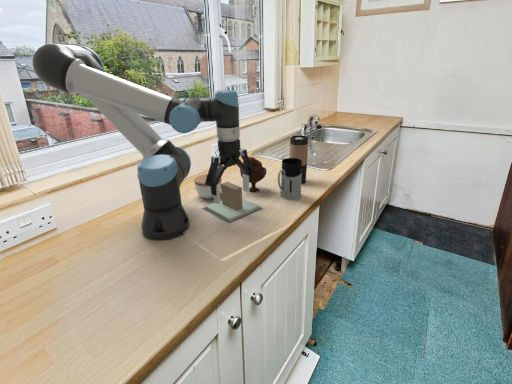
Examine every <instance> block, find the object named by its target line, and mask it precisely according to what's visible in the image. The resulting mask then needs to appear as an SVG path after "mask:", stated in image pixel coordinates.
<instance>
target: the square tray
mask: <svg viewBox="0 0 512 384" xmlns="http://www.w3.org/2000/svg"><path fill="white" fill-rule="evenodd" d="M201 209H202V210H204V211H205V212H207V213H209V214H211V215H213V216H214V217H216V218H218V219H220V220H221V221H223V222H225V223H228V224H232V223H234V222H236V221H238V220H240V219H243V218H245V217H248V216H249V215H251V214H254V213H256V212H260V211H261V210H263V209H264V207H261V206H259V209H257V210H255V211H252V212H250V213H248V214H245V215H243V216H241V217H239V218H236V219H234V220H232V221H228V220H226V219H224V218H222V217H220V216H218V215H217V214H215V213H213V212H211V211H209V210H208V209H206V208H205V206H204V207H202V208H201Z"/></svg>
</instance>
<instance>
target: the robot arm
mask: <svg viewBox="0 0 512 384" xmlns="http://www.w3.org/2000/svg"><path fill="white" fill-rule="evenodd" d="M103 66H104V64H103V61H102V59H101V58H100V56H99V55H98V54H97V53H96V52H95V51H94V50H92V49H91V48H89V47H87V46H84V45H80V44H74V43H72V44H61V43H60V44H59V43H47V44H44V45H41V46H40V47H38V48H37V49H36V51H35V52H34V55H33V56H32V67H33V70H34V73H35V74H36V76H37V78H39V79H40V81H41V82H42V83H44V84H45V85H47V86H49V87H51V88H53V89H57V90H58V91H62V92H65V93H68V94H70V95H76V96H77V97H79V98H81V99H87V100H88V101H89V102H90V103H91V104H92V105H93V106H94V107H95V108H96V109H97V110H98V111H99V112H100V114H102V115H103V116H104V118H106V120H108V121H109V123H111V124H112V125H113V126H114V127H115V128H116V130H117V131H118V132H120V134H121V135H122V136H123V137H124V138H125V139H126V140H127V141H128V142H129V143H130V144H131V145H132V146H133V147H134V148H135V150H137V151H138V153H140V154H141V155H142V160H141V161H139V163H138V165H137V179H138V185H139V187H140V189H139V190H140V193H141V198H142V199H141V200H142V205H143V215H142V220H141V227H140V228H141V232H142V235H143V236H144V237H145V238H146V239H149V240H153V241H165V240H167V241H168V240H171V239H172V240H173V239H174V238H175V239H176V238H177V237H179V236H182V235H184V234H185V232H186V231H187V230H188V229H189V228H190V224H191V223H190V219H189V215H188V214H187V211H186V210H185V208H184V206H183V204H182V197H181V185H182V184H183V182H184V181H185V179H186V178H187V177H188V175H189V173H190V170H191V166H192V161H191V157H190V156H189V154H188V152H187V151H186V150H184V149H183V148H182V147H179V146H176V145H175V144H173V143H172V141H171V140H169V139H167V138H166V139H165V138H162V137H161V136H160V135H159V134H158V132H156V131H155V130H154V129H153V127H151V125H150V124H149V123H148V122H147V121H146V120H145V119H144V118H143V117H147V118H149V119H152V120H156V121H158V122H161V123H164V124H167V125H169V126H171V127H172V129H173V130H174V131H176V132H177V133H180V134H187V133H188V134H189V133H191V132H192V131H194V130H196V128H198V126H199V125H200V124H201V123H203V122H205V123H206V122H215V124H216V138H217V149H218V154H219V155H218V156H213V155H212V156H211V157H210V159H211V160H210V166H209V170H208V173H207V174H208V175H207V178H206V182H205V185H207V186H210V187H211V194H212V195H213V198H212V200H213V203H214V202H215V203H217V204H220V200H221V199H220V198H221V197H220V196H221V195H220V193H219V186H217V184H218V182H219V180H220V178H221V179H222V176H223V174H224V172H225V170H227V169H228V168H230V167H232V166H237V167H238V169H239V170H240V169H241V170H242V171H243V172H244V173H245V174H243V178H242V192H246V193H250V192H249V188H250V184H251V183H250V176H251V175H252V172H254V168H253V166H252V164H251V162H250V160H249V157H250V156H248V150H247V149H245V148H241V140H240V137H241V133H240V131H241V130H240V109H239V108H240V106H239V105H240V104H239V95H238V92H237V91H235V90H234V89H224V90H222V89H219V90H216V91H214V92H213V96H212V97H191V96H190V97H181V98H179V99H178V98H174V97H172V96H170V95H167V94H163V93H161V92H159V91H156V90H154V89H150V88H148V87H145V86H142V85H140V84H138V83H135V82H131V81H129V80H126V79H123V78H121V77H117V76H115V75H113V74H110V73H108V72H107V71H106V70H105V69H104V67H103ZM240 158H241V159H242V160H241V159H240ZM243 161H244V164H245V166H246V167H245V166H244V164H243Z"/></svg>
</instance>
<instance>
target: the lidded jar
mask: <svg viewBox="0 0 512 384" xmlns="http://www.w3.org/2000/svg"><path fill="white" fill-rule="evenodd" d="M207 175H208V173H205V174H200V175H198V176H196V177H194V179H193V182H194V187H195V191H196V193H197V194H198V196H199V197H200V198H203V199H207V200H208V199H213V195H212V194H211V187H210V186H207V185H205V182H206V178H207ZM221 184H222V177H221V178H220V180H219V182H218V184H217V186H219V194H220V193H221Z"/></svg>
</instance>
